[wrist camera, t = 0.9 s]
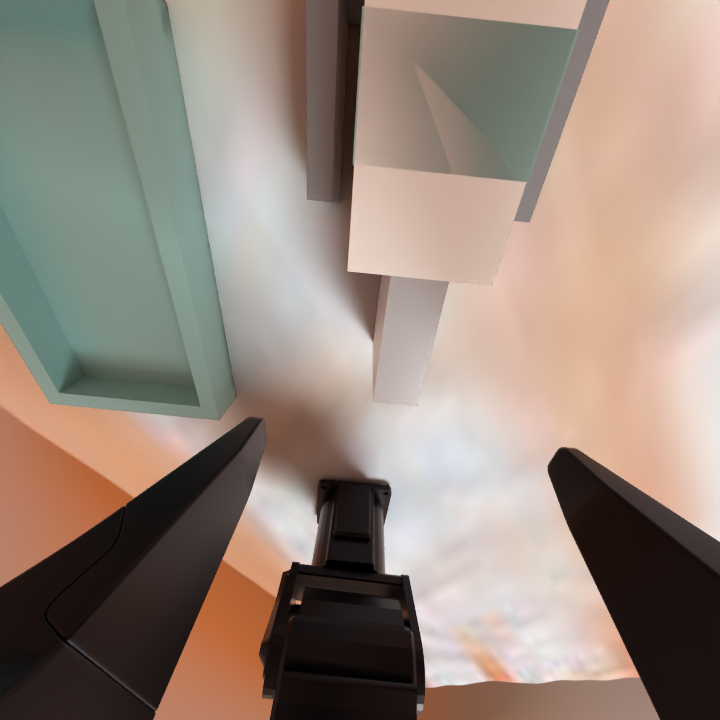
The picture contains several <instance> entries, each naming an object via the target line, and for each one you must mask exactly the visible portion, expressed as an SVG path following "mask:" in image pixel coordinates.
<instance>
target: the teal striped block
mask: <svg viewBox="0 0 720 720" xmlns="http://www.w3.org/2000/svg"><path fill="white" fill-rule="evenodd" d="M586 2H587V0H365V5H364V6H362V19H361V35H360V51H359V67H358V83H357V100H356V116H355V132H354V148H353V166H354V176H353V192H352V207H351V223H350V238H349V254H348V270H347V271H349V272H359V273H369V274H379V275H381V283H380V291H379V298H378V306H377V314H376V322H375V330H374V338H373V402H380V403H390V404H400V405H410V406H418V403H419V399H420V395H421V391H422V387H423V383H424V379H425V375H426V371H427V367H428V363H429V359H430V355H431V351H432V347H433V343H434V339H435V335H436V331H437V327H438V323H439V319H440V315H441V311H442V307H443V303H444V299H445V295H446V291H447V287H448V283H449V282H458V283H468V284H478V285H487V286H492V285H493V282H494V279H495V276H496V273H497V270H498V267H499V264H500V261H501V258H502V255H503V252H504V249H505V246H506V243H507V240H508V237H509V234H510V231H511V228H512V225H513V222H514V219H515V216H516V213H517V210H518V207H519V204H520V201H521V198H522V195H523V192H524V189H525V186H526V183H527V182H529V179H530V176H531V173H532V170H533V167H534V164H535V161H536V158H537V155H538V152H539V149H540V146H541V143H542V140H543V137H544V134H545V131H546V128H547V125H548V122H549V119H550V116H551V113H552V110H553V107H554V104H555V101H556V98H557V95H558V92H559V89H560V86H561V83H562V80H563V77H564V74H565V71H566V68H567V65H568V62H569V59H570V56H571V53H572V50H573V47H574V44H575V41H576V38H577V36H578V33H579V30H578V26H579V23H580V20H581V17H582V14H583V11H584V8H585V5H586Z"/></svg>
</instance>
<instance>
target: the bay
mask: <svg viewBox="0 0 720 720" xmlns="http://www.w3.org/2000/svg"><path fill="white" fill-rule="evenodd" d="M608 3H609V0H587V2H586V5H585V8H584V11H583V14H582V17H581V20H580V23H579V26H578V30H579V33H578V36H577V38H576V41H575V44H574V47H573V50H572V53H571V56H570V59H569V62H568V65H567V68H566V71H565V74H564V77H563V80H562V83H561V86H560V89H559V92H558V95H557V98H556V101H555V104H554V107H553V110H552V113H551V116H550V119H549V122H548V125H547V128H546V131H545V134H544V137H543V140H542V143H541V146H540V149H539V152H538V155H537V158H536V161H535V164H534V167H533V170H532V173H531V176H530V179H529V182H527V183H526V186H525V189H524V192H523V195H522V198H521V201H520V204H519V207H518V210H517V213H516V216H515V219H514V221H520V222H530V220H531V217H532V214H533V211H534V209H535V206H536V203H537V200H538V198H539V195H540V192H541V189H542V186H543V184H544V181H545V178H546V175H547V173H548V170H549V167H550V164H551V161H552V159H553V156H554V153H555V150H556V148H557V145H558V142H559V139H560V136H561V134H562V131H563V128H564V125H565V123H566V120H567V117H568V114H569V111H570V109H571V106H572V103H573V100H574V98H575V95H576V92H577V89H578V86H579V84H580V81H581V78H582V75H583V73H584V70H585V67H586V64H587V61H588V59H589V56H590V53H591V50H592V47H593V45H594V42H595V39H596V36H597V34H598V31H599V28H600V25H601V22H602V20H603V17H604V14H605V11H606V9H607V6H608ZM364 5H365V0H306V116H307V200H317V201H327V202H339V203H340V190H341V168H342V146H343V124H344V102H345V80H346V58H347V36H348V24H355V25H361V19H362V6H364Z"/></svg>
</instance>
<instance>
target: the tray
mask: <svg viewBox="0 0 720 720" xmlns="http://www.w3.org/2000/svg"><path fill="white" fill-rule="evenodd" d="M0 323H1V324H2V326H3V328H4V329H5V331H6V333H7V334H8V336H9V337H10V339H11V341H12V342H13V344H14V346H15V347H16V349H17V350H18V352H19V354H20V355H21V357H22V359H23V360H24V362H25V363H26V365H27V367H28V368H29V370H30V372H31V373H32V375H33V376H34V378H35V380H36V381H37V383H38V385H39V386H40V388H41V389H42V391H43V393H44V394H45V396H46V398H47V399H48V401H49V402H50V404H57V405H68V406H78V407H88V408H99V409H109V410H119V411H130V412H140V413H150V414H161V415H171V416H181V417H192V418H202V419H212V420H220V418H221V417H222V415H223V414H224V413H225V411H226V410H227V408H228V407H229V406H230V404H231V403H232V401H233V400H234V399H235V397H236V395H235V389H234V383H233V378H232V372H231V366H230V361H229V355H228V349H227V343H226V338H225V332H224V326H223V321H222V315H221V309H220V304H219V298H218V292H217V287H216V281H215V275H214V270H213V264H212V258H211V252H210V247H209V241H208V235H207V230H206V224H205V218H204V213H203V207H202V201H201V196H200V190H199V184H198V178H197V173H196V167H195V161H194V156H193V150H192V144H191V139H190V133H189V127H188V122H187V116H186V110H185V105H184V99H183V93H182V87H181V82H180V76H179V70H178V65H177V59H176V53H175V48H174V42H173V36H172V31H171V25H170V19H169V13H168V8H167V4H166V3H165V2H164V1H163V0H0Z"/></svg>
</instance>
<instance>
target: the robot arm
mask: <svg viewBox="0 0 720 720" xmlns="http://www.w3.org/2000/svg"><path fill="white" fill-rule="evenodd" d="M265 445H266V430H265V422H264V419H263V418H258V417H249V418H247V419H246V420H244V421H243V422H241V423H240V424H239V425H237V426H236V427H234V428H233V429H232V430H230V431H229V432H227V433H226V434H224V435H223V436H222V437H220V438H219V439H217V440H216V441H215V442H213V443H212V444H210V445H209V446H208V447H206V448H205V449H203V450H202V451H200V452H199V453H198V454H196V455H195V456H193V457H192V458H191V459H189V460H188V461H186V462H185V463H183V464H182V465H181V466H179V467H178V468H176V469H175V470H174V471H172V472H171V473H169V474H168V475H167V476H165V477H164V478H162V479H161V480H159V481H158V482H157V483H155V484H154V485H152V486H151V487H150V488H148V489H147V490H145V491H144V492H143V493H141V494H140V495H138V496H137V497H135V498H134V499H133V500H131V501H130V502H128V503H127V504H126V507H125V506H124V507H121V508H120V509H118V510H117V511H116V512H114V513H113V514H111V515H110V516H109V517H107V518H106V519H104V520H103V521H101V522H100V523H98V524H97V525H95V526H94V527H93V528H91V529H90V530H88V531H87V532H85V533H84V534H82V535H81V536H79V537H78V538H77V539H75V540H74V541H72V542H70V543H69V544H67V545H66V546H64V547H63V548H61V549H60V550H58V551H56V552H55V553H53V554H52V555H50V556H49V557H47V558H46V559H44V560H42V561H41V562H39V563H38V564H36V565H35V566H33V567H31V568H30V569H28V570H27V571H25V572H24V573H22V574H20V575H19V576H17V577H15V578H14V579H12V580H11V581H9V582H8V583H6V584H4V585H3V586H2V587H0V720H153V719H154V716H155V711H156V710H157V709H158V706H159V704H160V702H161V700H162V697H163V695H164V693H165V690H166V688H167V686H168V683H169V681H170V679H171V676H172V674H173V672H174V669H175V667H176V665H177V663H178V660H179V658H180V656H181V653H182V651H183V649H184V646H185V644H186V642H187V639H188V637H189V635H190V632H191V630H192V628H193V625H194V623H195V621H196V618H197V616H198V614H199V612H200V609H201V607H202V604H203V602H204V600H205V598H206V595H207V593H208V591H209V589H210V586H211V584H212V582H213V579H214V577H215V575H216V572H217V570H218V568H219V565H220V563H221V561H222V558H223V556H224V554H225V552H226V549H227V547H228V545H229V542H230V540H231V538H232V535H233V533H234V531H235V528H236V526H237V524H238V521H239V519H240V517H241V515H242V512H243V510H244V508H245V505H246V503H247V501H248V498H249V496H250V493H251V490H252V487H253V484H254V480H255V477H256V474H257V471H258V468H259V464H260V461H261V458H262V455H263V451H264V448H265ZM548 474H549V477H550V479H551V482H552V485H553V487H554V490H555V493H556V496H557V498H558V501H559V504H560V506H561V509H562V512H563V514H564V517H565V520H566V522H567V525H568V527H569V529H570V531H571V533H572V536H573V538H574V540H575V542H576V544H577V546H578V548H579V550H580V552H581V554H582V557H583V559H584V561H585V563H586V565H587V567H588V569H589V571H590V573H591V575H592V578H593V580H594V582H595V584H596V586H597V588H598V590H599V592H600V594H601V596H602V599H603V601H604V603H605V605H606V607H607V609H608V611H609V613H610V615H611V618H612V620H613V622H614V624H615V626H616V628H617V630H618V632H619V634H620V636H621V639H622V641H623V643H624V645H625V647H626V649H627V651H628V653H629V655H630V657H631V660H632V662H633V664H634V666H635V668H636V670H637V672H638V674H639V676H640V678H641V681H642V683H643V685H644V687H645V689H646V691H647V693H648V695H649V697H650V699H651V702H652V704H653V706H654V708H655V710H656V712H657V714H658V716H659V718H660V720H720V542H719V541H717V540H716V539H714V538H713V537H711V536H710V535H708V534H707V533H705V532H704V531H702V530H701V529H699V528H697V527H696V526H694V525H693V524H691V523H690V522H688V521H687V520H685V519H684V518H682V517H681V516H679V515H677V514H676V513H674V512H673V511H671V510H670V509H668V508H667V507H665V506H664V505H662V504H661V503H659V502H658V501H656V500H654V499H653V498H651V497H650V496H648V495H647V494H645V493H644V492H642V491H641V490H639V489H638V488H636V487H635V486H633V485H631V484H630V483H628V482H627V481H625V480H624V479H622V478H621V477H619V476H618V475H616V474H615V473H613V472H611V471H610V470H608V469H607V468H605V467H604V466H602V465H601V464H599V463H598V462H596V461H595V460H593V459H592V458H590V457H588V456H587V455H585V454H584V453H582V452H581V451H579V450H578V449H575V448H567V447H561V448H559V449H558V450H557V452H556V453H555V455H554V456H553V458H552V459H551V461H550V463H549V464H548ZM390 498H391V488H390V487H389V486H383V485H373V484H362V483H352V482H341V481H331V480H320V481H319V484H318V505H317V523H318V524H319V525H318V531H317V537H316V543H315V548H314V554H313V560H312V565H304V564H300V562H292V566H291V569H290V570H289V571H286V572H283V574H282V578H281V582H280V586H279V590H278V594H277V598H276V601H275V605H274V608H273V611H272V614H271V617H270V620H269V623H268V625H267V629H266V631H265V634H264V638H263V640H262V643H261V648H260V652H259V657H260V659H261V662H262V664H263V667H264V671H263V679H264V685H263V694H262V698H266V699H274V700H273V705H272V711H271V717H270V720H417V714H421V712H422V709H423V705H424V696H425V667H424V655H423V648H422V642H421V636H420V631H419V626H418V621H417V616H416V611H415V606H414V600H413V595H412V590H411V585H410V580H409V576H408V575H401V576H397V575H388V574H385V555H384V523H385V519H386V515H387V510H388V506H389V502H390ZM296 600H299V601H302V602H301V605H299V604H296Z"/></svg>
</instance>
